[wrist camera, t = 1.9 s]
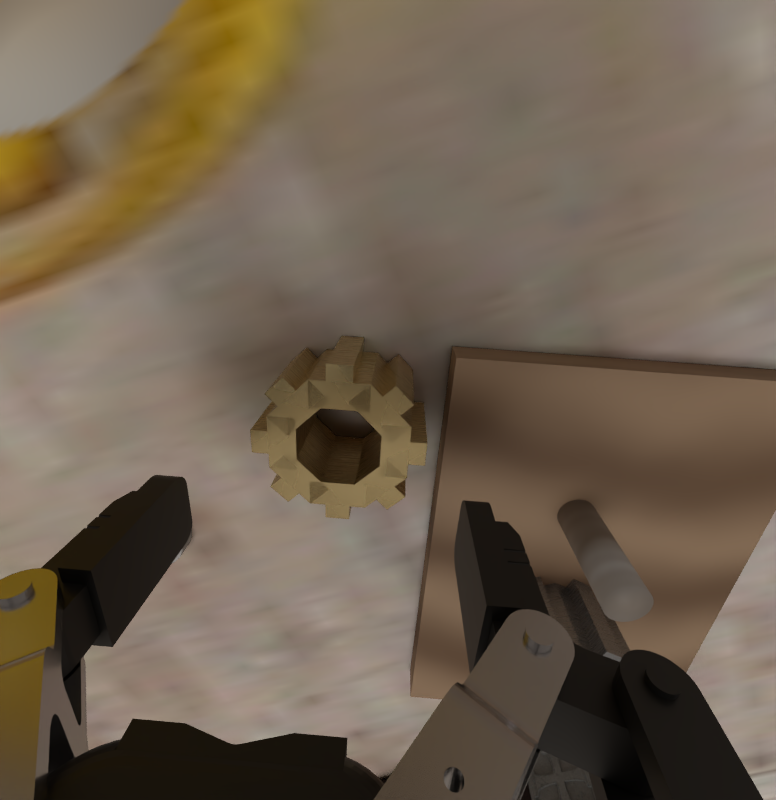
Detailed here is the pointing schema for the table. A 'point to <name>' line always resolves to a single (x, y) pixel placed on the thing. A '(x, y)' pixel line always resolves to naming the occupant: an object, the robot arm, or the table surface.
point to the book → (557, 781)
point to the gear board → (602, 490)
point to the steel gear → (583, 618)
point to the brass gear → (333, 455)
